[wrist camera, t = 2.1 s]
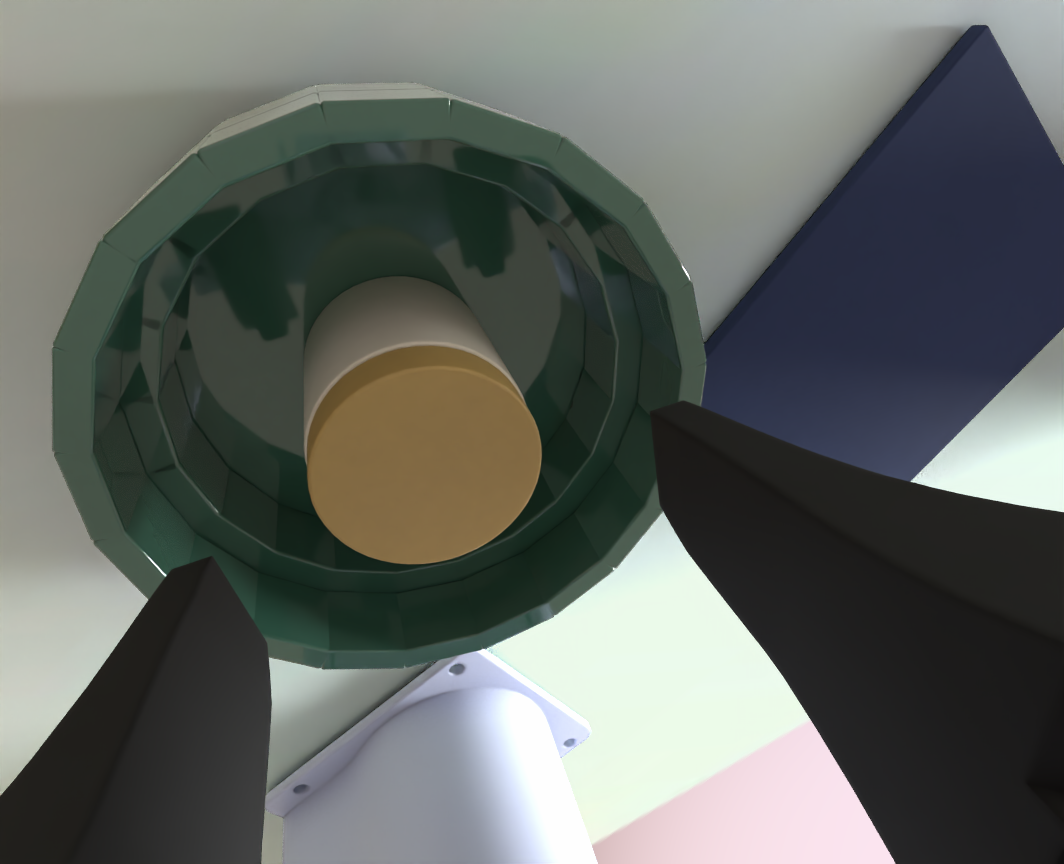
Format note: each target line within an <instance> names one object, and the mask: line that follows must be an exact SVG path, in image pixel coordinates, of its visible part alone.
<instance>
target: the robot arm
mask: <svg viewBox="0 0 1064 864" xmlns="http://www.w3.org/2000/svg"><path fill="white" fill-rule="evenodd" d="M650 418H651V427H652V437H653V446H654V456H655V466H656V475H657V485H658V494H659V504H660V506H661V508H662V510H663V512H664V513H665V515H666V517H667V519H668V520H669V522H670V524H671V526H672V527H673V529H674V531H675V533H676V534H677V536H678V537H679V539H680V541H681V542H682V544H683V546H684V547H685V549H686V551H687V552H688V554H689V555H690V556H691V557H692V559H693V560H694V561H695V563H696V564H697V565H698V567H699V568H700V569H701V570H702V572H703V573H704V574H705V576H706V577H707V578H708V580H709V581H710V582H711V583H712V585H713V586H714V587H715V589H716V590H717V591H718V592H719V594H720V595H721V596H722V597H723V599H724V600H725V601H726V602H727V604H728V605H729V606H730V608H731V609H732V610H733V611H734V613H735V614H736V615H737V616H738V618H739V619H740V620H741V621H742V623H743V624H744V625H745V627H746V628H747V629H748V630H749V632H750V633H751V634H752V635H753V637H754V638H755V639H756V641H757V642H758V643H759V644H760V646H761V647H762V648H763V649H764V651H765V652H766V653H767V655H768V656H769V657H770V659H771V660H772V662H773V663H774V664H775V666H776V667H777V669H778V670H779V671H780V673H781V674H782V676H783V677H784V679H785V680H786V682H787V683H788V685H789V686H790V688H791V690H792V691H793V693H794V694H795V696H796V697H797V699H798V701H799V702H800V704H801V705H802V707H803V708H804V710H805V712H806V713H807V715H808V716H809V718H810V719H811V721H812V723H813V724H814V726H815V727H816V729H817V730H818V732H819V733H820V735H821V737H822V739H823V740H824V742H825V744H826V745H827V747H828V749H829V750H830V752H831V754H832V755H833V757H834V758H835V760H836V762H837V763H838V765H839V767H840V768H841V770H842V772H843V773H844V775H845V777H846V778H847V780H848V782H849V783H850V785H851V787H852V788H853V790H854V792H855V793H856V795H857V797H858V798H859V800H860V802H861V804H862V806H863V807H864V809H865V811H866V813H867V814H868V816H869V818H870V819H871V821H872V823H873V825H874V826H875V828H876V830H877V832H878V833H879V835H880V837H881V838H882V840H883V842H884V844H885V845H886V847H887V849H888V851H889V852H890V854H891V856H892V858H893V859H894V861H895V863H896V864H1064V512H1058V511H1052V510H1045V509H1039V508H1032V507H1026V506H1020V505H1015V504H1009V503H1004V502H999V501H994V500H989V499H983V498H978V497H973V496H968V495H963V494H958V493H954V492H949V491H945V490H940V489H936V488H932V487H928V486H924V485H920V484H917V483H913V482H909V481H905V480H901V479H898V478H894V477H890V476H886V475H883V474H879V473H876V472H873V471H869V470H866V469H863V468H859V467H856V466H853V465H850V464H847V463H844V462H842V461H839V460H836V459H833V458H830V457H827V456H824V455H821V454H818V453H815V452H812V451H810V450H807V449H804V448H802V447H799V446H796V445H794V444H791V443H788V442H786V441H783V440H781V439H778V438H776V437H773V436H771V435H768V434H766V433H763V432H761V431H758V430H756V429H753V428H751V427H749V426H746V425H744V424H741V423H739V422H737V421H734V420H732V419H729V418H727V417H725V416H722V415H720V414H718V413H715V412H713V411H710V410H708V409H705V408H703V407H701V406H698V405H695V404H693V403H690V402H687V401H684V400H682V401H679V402H676V403H673V404H670V405H667V406H664V407H661V408H658V409H655V410H652V411H650ZM455 664H458V665H456V666H453V665H455ZM271 706H272V701H271V683H270V669H269V657H268V645H267V642H266V640H265V638H264V637H263V635H262V634H261V632H260V630H259V629H258V627H257V626H256V624H255V623H254V621H253V619H252V618H251V616H250V615H249V613H248V611H247V610H246V608H245V607H244V605H243V603H242V602H241V600H240V599H239V597H238V595H237V594H236V592H235V591H234V589H233V587H232V586H231V584H230V583H229V581H228V580H227V578H226V576H225V575H224V573H223V572H222V570H221V568H220V567H219V565H218V564H217V562H216V560H215V559H214V557H213V556H210V557H207V558H204V559H201V560H198V561H195V562H192V563H189V564H186V565H183V566H180V567H177V568H174V569H171V571H170V572H169V573H168V575H167V576H166V577H165V578H164V580H163V581H162V582H161V584H160V585H159V586H158V588H157V589H156V590H155V592H154V593H153V595H152V596H151V597H150V599H149V600H148V602H147V603H146V605H145V606H144V607H143V609H142V610H141V612H140V613H139V615H138V616H137V617H136V619H135V620H134V622H133V623H132V625H131V626H130V627H129V629H128V630H127V632H126V633H125V635H124V636H123V637H122V639H121V640H120V642H119V643H118V644H117V646H116V647H115V649H114V650H113V651H112V653H111V654H110V656H109V657H108V658H107V660H106V661H105V663H104V664H103V665H102V667H101V668H100V670H99V671H98V672H97V674H96V675H95V677H94V678H93V679H92V681H91V682H90V684H89V685H88V686H87V688H86V689H85V690H84V692H83V693H82V694H81V696H80V697H79V698H78V700H77V701H76V702H75V703H74V705H73V706H72V707H71V709H70V710H69V711H68V712H67V714H66V715H65V716H64V718H63V719H62V720H61V722H60V723H59V724H58V725H57V727H56V728H55V729H54V731H53V732H52V733H51V734H50V736H49V737H48V738H47V740H46V741H45V742H44V743H43V745H42V746H41V747H40V749H39V750H38V751H37V753H36V754H35V755H34V756H33V758H32V759H31V760H30V761H29V763H28V764H27V765H26V766H25V767H24V769H23V770H22V771H21V772H20V774H19V775H18V776H17V777H16V778H15V779H14V781H13V782H12V783H11V784H10V785H9V787H8V788H7V789H6V790H5V791H4V792H3V794H2V795H1V796H0V864H261V852H262V838H263V824H264V810H265V809H266V811H268V812H270V813H272V814H275V815H277V816H280V817H283V853H282V864H598V863H597V861H596V857H595V855H594V852H593V849H592V846H591V843H590V841H589V838H588V835H587V832H586V829H585V827H584V824H583V821H582V818H581V815H580V813H579V810H578V807H577V804H576V801H575V798H574V796H573V793H572V790H571V787H570V784H569V782H568V779H567V776H566V773H565V770H564V768H563V765H562V762H561V759H560V758H562V757H563V756H564V755H566V754H567V753H568V752H570V751H571V750H572V749H574V748H575V747H577V746H578V745H579V744H581V743H582V742H583V741H585V740H586V739H587V738H588V737H589V735H590V734H591V728H590V726H589V723H588V722H587V721H586V720H585V719H583V718H582V717H581V716H579V715H578V714H576V713H575V712H574V711H572V710H571V709H569V708H568V707H566V706H565V705H564V704H562V703H561V702H559V701H558V700H557V699H555V698H554V697H552V696H551V695H549V694H548V693H547V692H545V691H544V690H542V689H541V688H539V687H538V686H537V685H535V684H534V683H532V682H531V681H530V680H528V679H527V678H525V677H524V676H522V675H521V674H520V673H518V672H517V671H515V670H514V669H513V668H511V667H510V666H508V665H507V664H505V663H504V662H503V661H501V660H500V659H498V658H497V657H496V656H494V655H493V654H491V653H490V652H488V651H487V650H486V649H482V650H481V651H476V652H472V653H468V654H463V655H459V656H455V657H451V658H446V659H442V660H438V661H437V662H436V663H435V664H433V665H432V666H431V667H429V668H428V669H427V670H426V671H424V672H423V673H422V674H420V675H419V676H418V677H417V678H415V679H414V680H413V681H411V682H410V683H409V684H408V685H406V686H405V687H404V688H402V689H401V690H400V691H398V692H397V693H396V694H395V695H393V696H392V697H391V698H389V699H388V700H387V701H386V702H384V703H383V704H382V705H380V706H379V707H378V708H377V709H375V710H374V711H373V712H371V713H370V714H369V715H368V716H366V717H365V718H364V719H362V720H361V721H360V722H358V723H357V724H356V725H355V726H353V727H352V728H351V729H349V730H348V731H347V732H346V733H344V734H343V735H342V736H340V737H339V738H338V739H337V740H335V741H334V742H333V743H331V744H330V745H329V746H328V747H326V748H325V749H324V750H322V751H321V752H320V753H318V754H317V755H316V756H315V757H313V758H312V759H311V760H309V761H308V762H307V763H306V764H304V765H303V766H302V767H300V768H299V769H298V770H297V771H295V772H294V773H293V774H291V775H290V776H289V777H288V778H286V779H285V780H284V781H282V782H281V783H280V784H278V785H277V786H276V787H275V788H273V789H272V790H271V791H269V792H268V794H267V795H266V783H267V769H268V755H269V740H270V724H271ZM265 796H266V797H265Z"/></svg>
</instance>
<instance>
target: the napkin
mask: <svg viewBox="0 0 1064 864" xmlns="http://www.w3.org/2000/svg"><path fill="white" fill-rule="evenodd" d="M1063 328H1064V165H1063V163H1062V161H1061V160H1060V158H1059V156H1058V154H1057V152H1056V150H1055V149H1054V147H1053V145H1052V143H1051V141H1050V139H1049V138H1048V136H1047V134H1046V132H1045V130H1044V128H1043V126H1042V125H1041V123H1040V121H1039V119H1038V117H1037V115H1036V114H1035V112H1034V110H1033V108H1032V106H1031V104H1030V103H1029V101H1028V99H1027V97H1026V95H1025V93H1024V92H1023V90H1022V88H1021V86H1020V84H1019V82H1018V81H1017V79H1016V77H1015V75H1014V73H1013V71H1012V70H1011V68H1010V66H1009V64H1008V62H1007V60H1006V58H1005V57H1004V55H1003V53H1002V51H1001V49H1000V47H999V46H998V44H997V42H996V40H995V38H994V36H993V35H992V33H991V31H990V29H989V27H988V26H986V25H973V26H971V27H970V28H969V29H968V31H967V32H966V33H965V34H964V35H963V37H962V38H961V39H960V40H959V41H958V43H957V44H956V45H955V46H954V47H953V48H952V50H951V51H950V52H949V53H948V54H947V56H946V57H945V58H944V59H943V60H942V62H941V63H940V64H939V65H938V66H937V68H936V69H935V70H934V71H933V72H932V74H931V75H930V76H929V77H928V78H927V80H926V81H925V82H924V83H923V84H922V85H921V87H920V88H919V89H918V90H917V91H916V93H915V94H914V95H913V96H912V97H911V99H910V100H909V101H908V102H907V103H906V105H905V106H904V107H903V108H902V109H901V111H900V112H899V113H898V114H897V115H896V116H895V118H894V119H893V120H892V121H891V122H890V124H889V125H888V126H887V127H886V128H885V130H884V131H883V132H882V133H881V134H880V136H879V137H878V138H877V139H876V140H875V142H874V143H873V144H872V145H871V146H870V148H869V149H868V150H867V151H866V152H865V153H864V155H863V156H862V157H861V158H860V159H859V161H858V162H857V163H856V164H855V165H854V167H853V168H852V169H851V170H850V171H849V173H848V174H847V175H846V176H845V177H844V179H843V180H842V181H841V182H840V183H839V185H838V186H837V187H836V188H835V189H834V190H833V192H832V193H831V194H830V195H829V196H828V198H827V199H826V200H825V201H824V202H823V204H822V205H821V206H820V207H819V208H818V210H817V211H816V212H815V213H814V214H813V216H812V217H811V218H810V219H809V220H808V222H807V223H806V224H805V225H804V226H803V227H802V229H801V230H800V231H799V232H798V233H797V235H796V236H795V237H794V238H793V239H792V241H791V242H790V243H789V244H788V245H787V247H786V248H785V249H784V250H783V251H782V253H781V254H780V255H779V256H778V257H777V258H776V260H775V261H774V262H773V263H772V264H771V266H770V267H769V268H768V269H767V270H766V272H765V273H764V274H763V275H762V276H761V278H760V279H759V280H758V281H757V282H756V284H755V285H754V286H753V287H752V288H751V290H750V291H749V292H748V293H747V294H746V295H745V297H744V298H743V299H742V300H741V301H740V303H739V304H738V305H737V306H736V307H735V309H734V310H733V311H732V312H731V313H730V315H729V316H728V317H727V318H726V319H725V321H724V322H723V323H722V324H721V325H720V327H719V328H718V329H717V330H716V331H715V332H714V334H713V335H712V336H711V337H710V338H709V340H708V341H707V342H706V343H705V344H704V349H705V354H706V360H707V361H706V365H707V368H706V374H705V381H704V388H703V395H702V402H701V407H703V408H705V409H708V410H710V411H713V412H715V413H718V414H720V415H722V416H725V417H727V418H729V419H732V420H734V421H737V422H739V423H741V424H744V425H746V426H749V427H751V428H753V429H756V430H758V431H761V432H763V433H766V434H768V435H771V436H773V437H776V438H778V439H781V440H783V441H786V442H788V443H791V444H794V445H796V446H799V447H802V448H804V449H807V450H810V451H812V452H815V453H818V454H821V455H824V456H827V457H830V458H833V459H836V460H839V461H842V462H844V463H847V464H850V465H853V466H856V467H859V468H863V469H866V470H869V471H873V472H876V473H879V474H883V475H886V476H890V477H894V478H898V479H901V480H905V481H909V482H910V481H911V480H912V479H913V478H914V477H915V476H916V475H917V474H918V473H919V472H920V471H921V470H922V469H923V468H924V467H925V466H926V465H927V464H928V463H929V462H930V461H931V460H932V459H933V458H934V457H935V456H936V455H937V454H938V453H939V452H940V451H941V450H942V449H943V448H944V447H945V446H946V445H947V444H948V443H949V442H950V441H951V440H952V439H953V438H954V437H955V436H956V435H957V434H958V433H959V432H960V431H961V430H962V429H963V428H964V427H965V426H966V425H967V424H968V423H969V422H970V421H971V420H972V419H973V418H974V417H975V416H976V415H977V414H978V413H979V412H980V411H981V410H982V409H983V408H984V407H985V406H986V405H987V404H988V403H989V402H990V401H991V400H992V399H993V398H994V397H995V396H996V395H997V394H998V393H999V392H1000V391H1001V390H1002V389H1003V388H1004V387H1005V386H1006V385H1007V384H1008V383H1009V382H1010V381H1011V380H1012V379H1013V378H1014V377H1015V376H1016V375H1017V374H1018V373H1019V372H1020V371H1021V370H1022V369H1023V368H1024V367H1025V366H1026V365H1027V364H1028V363H1029V362H1030V361H1031V360H1032V359H1033V358H1034V357H1035V356H1036V355H1037V354H1038V353H1039V352H1040V351H1041V350H1042V349H1043V348H1044V347H1045V346H1046V345H1047V344H1048V343H1049V342H1050V341H1051V340H1052V339H1053V338H1054V337H1055V336H1056V335H1057V334H1058V333H1059V332H1060V331H1061V330H1062V329H1063Z"/></svg>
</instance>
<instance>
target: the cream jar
mask: <svg viewBox="0 0 1064 864" xmlns="http://www.w3.org/2000/svg"><path fill="white" fill-rule="evenodd" d="M304 453H305V461H306V465H307V480H308V490H309V494H310V497H311V501H312V504H313V506H314V508H315V510H316V512H317V514H318V516H319V517H320V519H321V520H322V522H323V523H324V525H325V526H326V527H327V528H328V529H329V530H330V532H331V533H332V534H333V535H334V536H335V537H337V538H338V539H339V540H340V541H341V542H343V543H344V544H345V545H347V546H349V547H350V548H352V549H353V550H355V551H357V552H359V553H361V554H364V555H366V556H368V557H371V558H374V559H378V560H381V561H386V562H391V563H399V564H426V563H434V562H440V561H444V560H449V559H452V558H455V557H458V556H461V555H464V554H466V553H469V552H471V551H473V550H475V549H477V548H479V547H481V546H483V545H484V544H486V543H488V542H489V541H491V540H492V539H494V538H495V537H496V536H498V535H499V534H500V533H502V532H503V531H504V530H505V529H506V528H507V527H508V526H509V525H510V524H511V523H512V522H513V521H514V520H515V519H516V518H517V517H518V516H519V514H520V513H521V512H522V510H523V509H524V507H525V506H526V504H527V503H528V501H529V499H530V497H531V495H532V494H533V491H534V489H535V486H536V484H537V481H538V477H539V473H540V468H541V458H542V451H541V440H540V435H539V431H538V428H537V425H536V423H535V420H534V418H533V416H532V415H531V413H530V411H529V409H528V407H527V406H526V403H525V401H524V398H523V395H522V393H521V392H520V390H519V388H518V386H517V384H516V383H515V381H514V379H513V378H512V376H511V374H510V373H509V371H508V370H507V368H506V366H505V365H504V363H503V361H502V360H501V358H500V356H499V355H498V353H497V352H496V350H495V348H494V347H493V345H492V343H491V342H490V340H489V338H488V337H487V335H486V334H485V332H484V330H483V329H482V327H481V325H480V324H479V322H478V320H477V319H476V317H475V316H474V314H473V313H472V312H471V310H470V309H469V308H468V306H467V305H466V304H465V303H464V302H463V301H462V300H461V299H460V298H458V297H457V296H456V295H454V294H453V293H452V292H450V291H449V290H447V289H445V288H443V287H442V286H440V285H437V284H435V283H432V282H430V281H427V280H423V279H419V278H413V277H406V276H390V277H382V278H377V279H373V280H369V281H365V282H363V283H360V284H358V285H356V286H353V287H352V288H350V289H348V290H346V291H345V292H343V293H341V294H340V295H339V296H338V297H336V298H335V299H334V300H332V301H331V302H330V303H329V304H328V305H327V306H326V307H325V308H324V310H323V311H322V312H321V314H320V315H319V316H318V318H317V319H316V321H315V323H314V324H313V326H312V328H311V330H310V333H309V335H308V338H307V341H306V346H305V351H304Z"/></svg>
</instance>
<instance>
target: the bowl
mask: <svg viewBox="0 0 1064 864" xmlns="http://www.w3.org/2000/svg"><path fill="white" fill-rule="evenodd" d="M390 276H406V277H413V278H419V279H423V280H427V281H430V282H432V283H435V284H437V285H440V286H442V287H443V288H445V289H447V290H449V291H450V292H452V293H453V294H454V295H456V296H457V297H458V298H460V299H461V300H462V301H463V302H464V303H465V304H466V305H467V306H468V308H469V309H470V310H471V312H472V313H473V314H474V316H475V317H476V319H477V320H478V322H479V324H480V325H481V327H482V329H483V330H484V332H485V334H486V335H487V337H488V338H489V340H490V342H491V343H492V345H493V347H494V348H495V350H496V352H497V353H498V355H499V356H500V358H501V360H502V361H503V363H504V365H505V366H506V368H507V370H508V371H509V373H510V374H511V376H512V378H513V379H514V381H515V383H516V384H517V386H518V388H519V390H520V392H521V393H522V395H523V398H524V401H525V403H526V406H527V407H528V409H529V411H530V413H531V415H532V416H533V418H534V420H535V423H536V425H537V428H538V431H539V435H540V440H541V451H542V458H541V468H540V473H539V477H538V481H537V484H536V486H535V489H534V491H533V494H532V495H531V497H530V499H529V501H528V503H527V504H526V506H525V507H524V509H523V510H522V512H521V513H520V514H519V516H518V517H517V518H516V519H515V520H514V521H513V522H512V523H511V524H510V525H509V526H508V527H507V528H506V529H505V530H504V531H503V532H502V533H500V534H499V535H498V536H496V537H495V538H494V539H492V540H491V541H489V542H488V543H486V544H484V545H483V546H481V547H479V548H477V549H475V550H473V551H471V552H469V553H466V554H464V555H461V556H458V557H455V558H452V559H449V560H444V561H440V562H434V563H426V564H399V563H391V562H386V561H381V560H378V559H374V558H371V557H368V556H366V555H364V554H361V553H359V552H357V551H355V550H353V549H352V548H350V547H349V546H347V545H345V544H344V543H343V542H341V541H340V540H339V539H338V538H337V537H335V536H334V535H333V534H332V533H331V532H330V530H329V529H328V528H327V527H326V526H325V525H324V523H323V522H322V520H321V519H320V517H319V516H318V514H317V512H316V510H315V508H314V506H313V504H312V501H311V497H310V494H309V490H308V480H307V465H306V461H305V453H304V351H305V346H306V341H307V338H308V335H309V333H310V330H311V328H312V326H313V324H314V323H315V321H316V319H317V318H318V316H319V315H320V314H321V312H322V311H323V310H324V308H325V307H326V306H327V305H328V304H329V303H330V302H331V301H332V300H334V299H335V298H336V297H338V296H339V295H340V294H341V293H343V292H345V291H346V290H348V289H350V288H352V287H353V286H356V285H358V284H360V283H363V282H365V281H369V280H373V279H377V278H382V277H390ZM690 280H691V279H690V276H689V274H688V272H687V271H686V269H685V267H684V266H683V264H682V262H681V260H680V259H679V257H678V255H677V254H676V252H675V250H674V249H673V247H672V245H671V244H670V242H669V240H668V238H667V237H666V235H665V233H664V232H663V230H662V228H661V227H660V225H659V223H658V222H657V220H656V218H655V216H654V215H653V213H652V211H651V210H650V208H649V206H648V205H647V203H645V202H644V200H643V198H642V197H640V196H639V195H638V194H637V193H636V192H634V191H633V190H632V189H631V188H629V187H628V186H627V185H626V184H624V183H623V182H622V181H621V180H619V179H618V178H617V177H616V176H614V175H613V174H612V173H611V172H609V171H608V170H607V169H606V168H604V167H603V166H602V165H601V164H599V163H598V162H597V161H596V160H594V159H593V158H592V157H591V156H589V155H588V154H587V153H586V152H584V151H583V150H582V149H581V148H579V147H578V146H577V145H576V144H574V143H573V142H572V141H571V140H569V139H568V138H567V137H565V136H562V135H560V134H559V133H557V132H555V131H552V130H550V129H547V128H544V127H542V126H539V125H537V124H534V123H531V122H529V121H526V120H524V119H521V118H519V117H516V116H513V115H511V114H508V113H506V112H503V111H500V110H497V109H494V108H491V107H488V106H485V105H482V104H479V103H476V102H473V101H470V100H467V99H464V98H461V97H458V96H455V95H452V94H449V93H446V92H443V91H440V90H437V89H434V88H431V87H428V86H425V85H422V84H419V83H416V84H415V83H413V82H397V83H351V84H318V85H316V86H310V87H307V88H305V89H302V90H300V91H297V92H295V93H292V94H290V95H287V96H285V97H282V98H280V99H277V100H274V101H272V102H269V103H267V104H264V105H262V106H259V107H257V108H254V109H252V110H249V111H247V112H244V113H242V114H239V115H236V116H234V117H231V118H229V119H226V120H224V121H223V122H222V123H220V124H218V125H217V126H216V127H215V128H214V129H213V130H212V131H211V132H209V133H208V134H207V135H206V136H205V137H204V138H203V139H202V140H201V141H200V142H199V143H198V144H197V145H195V146H194V147H193V148H192V149H191V150H190V151H189V152H188V153H187V154H186V155H185V156H184V157H183V158H182V159H180V160H179V161H178V162H177V163H176V164H175V165H174V166H173V167H172V168H171V169H170V170H169V171H168V172H166V173H165V174H164V175H163V176H162V177H161V178H160V179H159V180H158V181H157V182H156V183H155V184H154V185H152V186H151V187H150V188H149V189H148V190H147V191H146V192H145V193H144V194H143V195H142V197H141V198H140V199H139V200H138V201H137V202H136V203H135V204H134V205H133V206H132V207H131V208H130V209H129V210H128V211H127V212H126V213H125V214H124V215H123V216H122V217H121V218H120V219H119V220H118V221H117V222H116V223H115V224H114V225H113V226H112V227H111V228H110V229H109V230H108V231H107V232H106V233H105V234H104V235H103V237H102V238H101V239H100V240H99V241H98V243H97V245H96V248H95V250H94V252H93V254H92V257H91V259H90V261H89V263H88V266H87V268H86V270H85V272H84V275H83V277H82V279H81V281H80V284H79V286H78V288H77V290H76V292H75V295H74V297H73V299H72V301H71V304H70V306H69V308H68V310H67V313H66V315H65V317H64V319H63V322H62V324H61V326H60V328H59V331H58V333H57V335H56V337H55V339H54V342H53V348H52V450H53V452H54V456H55V458H56V461H57V463H58V465H59V467H60V470H61V472H62V474H63V477H64V479H65V481H66V483H67V486H68V488H69V490H70V492H71V495H72V497H73V499H74V502H75V504H76V506H77V508H78V511H79V513H80V515H81V517H82V520H83V522H84V524H85V527H86V529H87V531H88V533H89V536H90V538H91V540H92V541H93V542H94V545H95V546H96V547H97V548H98V549H99V550H100V551H101V552H102V553H103V554H104V555H105V556H106V557H107V558H108V559H109V560H110V561H111V562H112V563H113V564H114V565H115V566H116V567H117V568H118V569H119V570H120V571H121V572H122V573H123V574H124V575H125V576H126V577H127V578H128V579H129V580H130V581H131V582H132V583H133V584H134V585H135V586H136V587H137V588H138V590H139V591H140V592H141V593H142V594H143V595H144V596H145V597H146V598H147V599H148V600H149V599H150V597H151V596H152V595H153V593H154V592H155V590H156V589H157V588H158V586H159V585H160V584H161V582H162V581H163V580H164V578H165V577H166V576H167V575H168V573H169V572H170V571H171V569H174V568H177V567H180V566H183V565H186V564H189V563H192V562H195V561H198V560H201V559H204V558H207V557H210V556H213V557H214V559H215V560H216V562H217V564H218V565H219V567H220V568H221V570H222V572H223V573H224V575H225V576H226V578H227V580H228V581H229V583H230V584H231V586H232V587H233V589H234V591H235V592H236V594H237V595H238V597H239V599H240V600H241V602H242V603H243V605H244V607H245V608H246V610H247V611H248V613H249V615H250V616H251V618H252V619H253V621H254V623H255V624H256V626H257V627H258V629H259V630H260V632H261V634H262V635H263V637H264V638H265V640H266V642H267V645H268V657H270V658H275V659H279V660H283V661H288V662H292V663H297V664H301V665H306V666H310V667H315V668H322V669H393V668H404V667H412V666H416V665H420V664H425V663H429V662H433V661H438V660H442V659H446V658H451V657H455V656H459V655H463V654H468V653H472V652H476V651H481V650H482V649H487V648H489V647H491V646H493V645H495V644H497V643H500V642H502V641H504V640H506V639H508V638H510V637H512V636H515V635H517V634H519V633H521V632H523V631H525V630H527V629H529V628H532V627H534V626H536V625H538V624H540V623H542V622H544V621H547V620H549V619H551V618H553V617H554V615H557V614H558V613H560V612H561V611H562V610H564V609H565V608H566V607H567V606H569V605H570V604H571V603H573V602H574V601H575V600H577V599H578V598H579V597H581V596H582V595H583V594H584V593H586V592H587V591H588V590H590V589H591V588H592V587H594V586H595V585H596V584H597V583H599V582H600V581H601V580H603V579H604V578H605V577H607V576H608V575H609V574H611V573H612V572H613V571H614V568H617V567H618V566H619V565H620V564H621V562H622V561H623V560H624V559H625V558H626V556H627V555H628V554H629V553H630V551H631V550H632V549H633V548H634V547H635V545H636V544H637V543H638V542H639V540H640V539H641V538H642V537H643V536H644V534H645V533H646V532H647V531H648V529H649V528H650V527H651V526H652V525H653V523H654V522H655V521H656V520H657V518H658V517H659V516H660V515H661V514H662V512H663V510H662V508H661V506H660V504H659V494H658V485H657V475H656V466H655V456H654V446H653V437H652V427H651V418H650V411H652V410H655V409H658V408H661V407H664V406H667V405H670V404H673V403H676V402H679V401H682V400H684V401H687V402H690V403H693V404H695V405H698V406H701V402H702V395H703V388H704V381H705V374H706V368H707V365H706V361H707V360H706V354H705V349H704V343H703V338H702V332H701V327H700V322H699V316H698V311H697V305H696V300H695V294H694V289H693V284H692V282H691V281H690Z"/></svg>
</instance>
